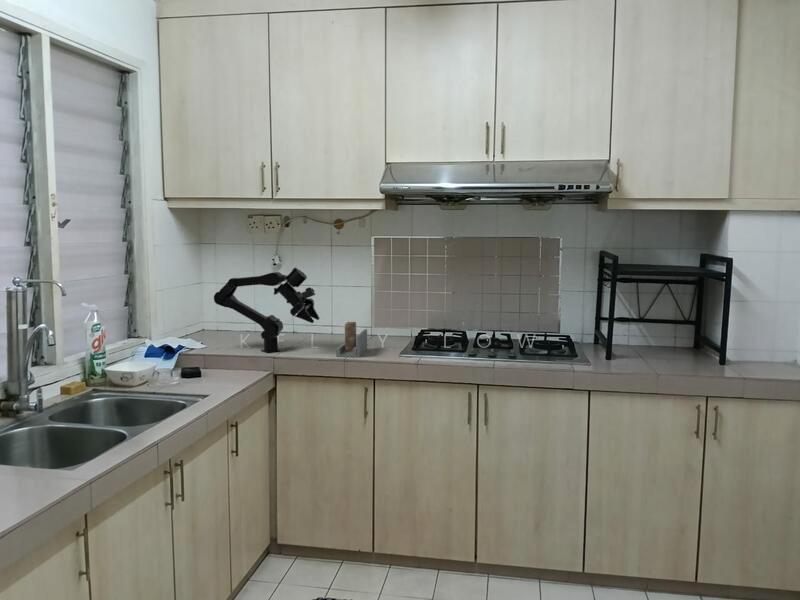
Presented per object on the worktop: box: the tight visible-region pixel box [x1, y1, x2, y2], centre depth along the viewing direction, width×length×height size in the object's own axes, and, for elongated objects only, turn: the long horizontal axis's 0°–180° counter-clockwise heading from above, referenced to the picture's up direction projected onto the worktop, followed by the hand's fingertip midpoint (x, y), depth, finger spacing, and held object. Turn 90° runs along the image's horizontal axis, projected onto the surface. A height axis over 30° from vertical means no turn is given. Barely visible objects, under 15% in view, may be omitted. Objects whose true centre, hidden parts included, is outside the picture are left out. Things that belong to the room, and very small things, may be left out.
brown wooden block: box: [344, 321, 357, 352], centre depth 274 cm, size 4×6×12 cm
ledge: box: [335, 328, 368, 358], centre depth 274 cm, size 10×18×9 cm, turn 173°
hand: (316, 320), depth 275 cm, fingers open, 9 cm apart
